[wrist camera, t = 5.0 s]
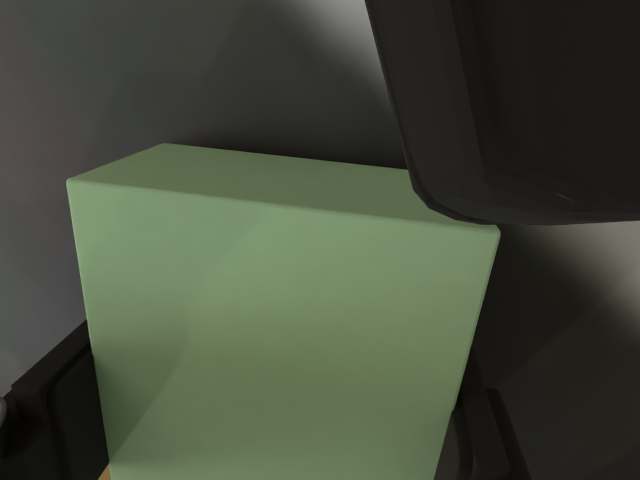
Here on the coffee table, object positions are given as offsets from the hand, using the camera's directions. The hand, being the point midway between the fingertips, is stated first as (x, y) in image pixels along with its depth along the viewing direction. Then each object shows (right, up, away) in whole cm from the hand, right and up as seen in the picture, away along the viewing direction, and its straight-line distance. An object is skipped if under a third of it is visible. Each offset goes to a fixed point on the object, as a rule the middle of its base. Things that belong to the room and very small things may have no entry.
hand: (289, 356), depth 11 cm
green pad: (0, -1, +1) cm, 2 cm away
